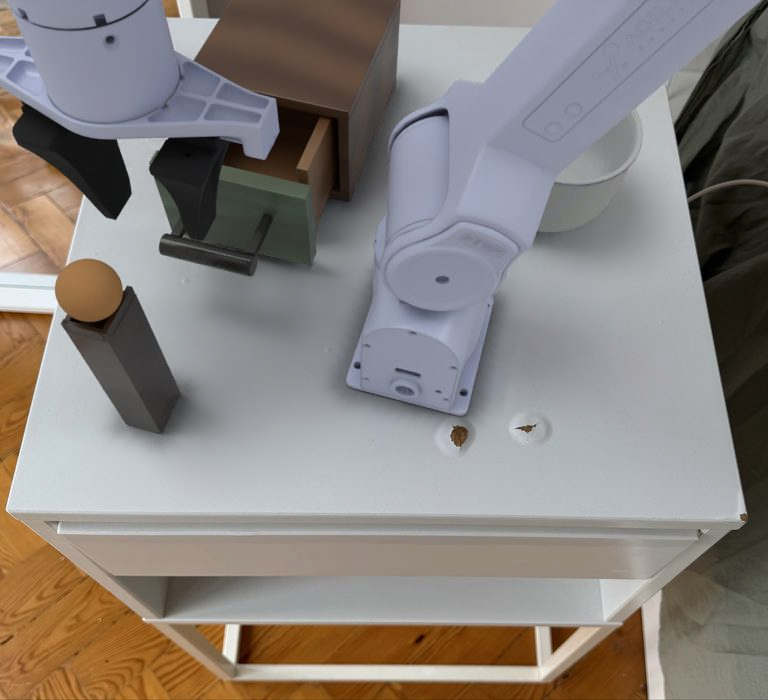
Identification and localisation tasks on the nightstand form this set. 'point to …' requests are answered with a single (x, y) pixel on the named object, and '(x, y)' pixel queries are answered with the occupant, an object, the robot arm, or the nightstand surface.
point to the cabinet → (315, 64)
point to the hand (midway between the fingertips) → (161, 216)
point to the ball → (88, 290)
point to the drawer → (265, 199)
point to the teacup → (593, 177)
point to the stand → (128, 363)
